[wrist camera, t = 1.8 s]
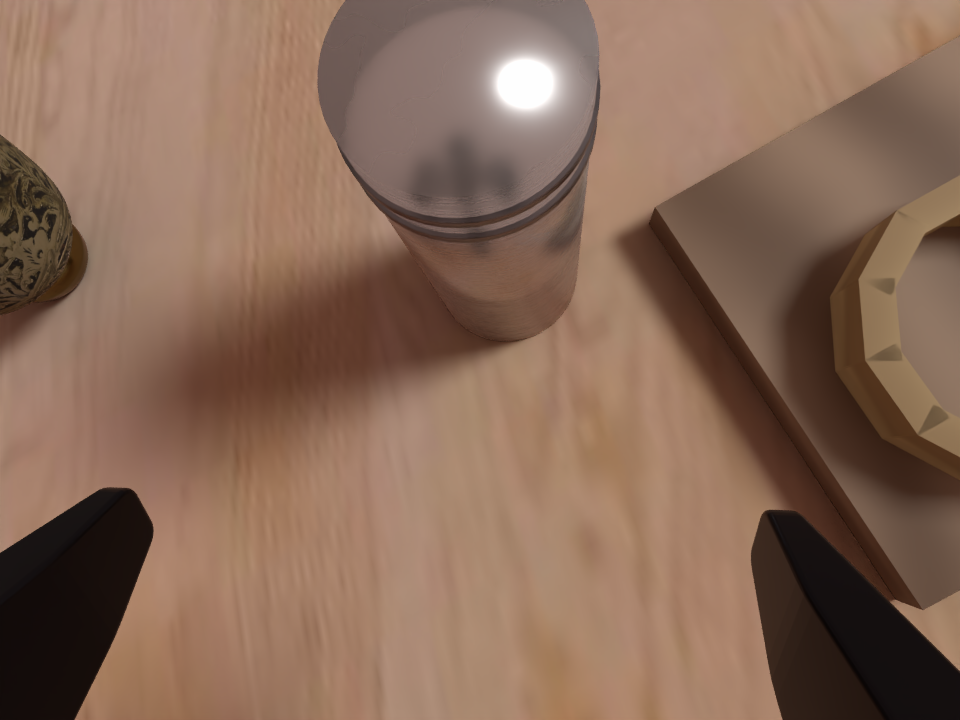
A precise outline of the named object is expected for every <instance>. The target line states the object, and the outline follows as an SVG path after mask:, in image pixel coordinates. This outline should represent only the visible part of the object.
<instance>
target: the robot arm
mask: <svg viewBox="0 0 960 720" xmlns="http://www.w3.org/2000/svg"><path fill="white" fill-rule="evenodd" d="M152 539H153V524H152V521H151V520H150V518H149V516H148V514H147V512H146V510H145V509H144V507H143V505H142V503H141V501H140V499H139V498H138V496H137V494H136V493H135V492H134V491H133V490H131V489H129V488H112V487H109V488H103V489H100V490H98V491H97V492H95V493H93V494H92V495H90V496H89V497H87V498H86V499H84V500H82V501H81V502H79V503H78V504H76V505H75V506H73V507H71V508H70V509H68V510H67V511H65V512H64V513H62V514H60V515H59V516H57V517H56V518H54V519H53V520H51V521H50V522H48V523H46V524H45V525H43V526H42V527H40V528H39V529H37V530H35V531H34V532H32V533H31V534H29V535H28V536H26V537H24V538H23V539H21V540H20V541H18V542H17V543H15V544H14V545H12V546H10V547H9V548H7V549H6V550H4V551H3V552H1V553H0V720H75V718H76V716H77V714H78V712H79V710H80V708H81V706H82V704H83V702H84V700H85V698H86V696H87V694H88V691H89V689H90V687H91V685H92V683H93V681H94V679H95V677H96V675H97V673H98V671H99V669H100V667H101V665H102V663H103V661H104V659H105V657H106V655H107V653H108V651H109V649H110V647H111V644H112V642H113V640H114V638H115V636H116V633H117V631H118V628H119V626H120V623H121V621H122V619H123V616H124V613H125V611H126V608H127V605H128V603H129V600H130V597H131V595H132V592H133V590H134V587H135V584H136V582H137V579H138V576H139V574H140V571H141V568H142V566H143V563H144V561H145V558H146V555H147V553H148V550H149V547H150V545H151V542H152ZM751 565H752V572H753V578H754V583H755V589H756V595H757V601H758V607H759V612H760V618H761V624H762V630H763V636H764V641H765V647H766V653H767V659H768V664H769V669H770V675H771V680H772V683H773V687H774V691H775V695H776V699H777V702H778V706H779V709H780V713H781V716H782V719H783V720H960V671H959V670H958V669H957V668H956V667H955V666H954V665H953V664H952V663H951V662H950V661H949V660H948V659H947V658H946V657H945V656H944V655H943V654H942V653H941V652H940V651H939V650H938V649H937V648H936V647H935V646H934V645H933V644H932V643H931V642H930V641H929V640H928V639H927V638H926V637H925V636H924V635H923V634H922V633H921V632H920V631H919V630H918V629H917V628H916V627H915V626H914V625H913V624H912V623H911V622H910V621H909V620H908V619H907V618H906V617H904V616H903V615H902V614H901V613H900V612H899V611H898V610H897V609H896V608H895V607H894V606H893V605H892V604H891V603H890V602H889V601H888V600H887V599H886V598H885V597H884V596H883V595H882V594H881V593H880V592H879V591H878V590H877V589H876V588H875V587H874V586H873V585H872V584H871V583H870V582H869V581H868V580H867V579H866V578H865V577H864V576H863V575H862V574H861V573H860V572H859V571H858V570H857V569H856V568H855V567H854V566H853V565H852V564H851V563H850V562H849V561H848V560H847V559H846V558H845V557H844V556H843V555H842V554H841V553H840V552H839V551H838V550H837V549H836V548H835V547H834V546H833V545H832V544H831V543H830V542H829V541H828V540H827V539H826V538H825V537H824V536H823V535H822V534H821V533H820V532H819V531H818V530H816V529H815V528H814V527H813V526H812V525H811V524H810V523H809V522H808V521H807V520H806V519H805V518H804V517H803V516H802V515H801V514H799V513H798V512H796V511H789V510H766V511H765V512H764V513H763V514H762V516H761V518H760V522H759V525H758V529H757V532H756V536H755V539H754V543H753V546H752V550H751Z"/></svg>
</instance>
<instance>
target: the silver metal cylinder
mask: <svg viewBox="0 0 960 720" xmlns="http://www.w3.org/2000/svg"><path fill="white" fill-rule="evenodd" d="M598 68H599V44H598V36H597V32H596V28H595V23H594V20H593V18H592V15H591V13H590V10H589V8H588V5H587V4H586V2H585V0H346V1H345V2H344V3H343V5H342V6H341V7H340V9H339V11H338V12H337V14H336V16H335V17H334V19H333V21H332V22H331V25H330V27H329V29H328V32H327V34H326V36H325V39H324V42H323V46H322V49H321V53H320V59H319V66H318V93H319V101H320V105H321V109H322V112H323V116H324V119H325V121H326V124H327V126H328V128H329V130H330V132H331V134H332V136H333V137H334V139H335V140H336V142H337V145H338V148H339V150H340V152H341V154H342V157H343V159H344V161H345V163H346V164H347V166H348V167H349V169H350V170H351V172H352V173H353V175H354V176H355V178H356V179H357V181H358V182H359V183H360V185H361V186H362V188H363V189H364V191H365V192H366V194H367V195H368V197H369V198H370V199H371V201H372V202H373V203H374V204H375V205H376V206H377V207H378V209H379V210H380V211H382V212H383V213H384V214H385V215H386V217H387V218H388V220H389V221H390V223H391V224H392V226H393V227H394V229H395V230H396V232H397V233H398V235H399V236H400V238H401V239H402V241H403V242H404V244H405V245H406V247H407V248H408V250H409V251H410V253H411V254H412V256H413V257H414V259H415V260H416V262H417V263H418V265H419V266H420V268H421V269H422V271H423V272H424V274H425V275H426V277H427V278H428V280H429V281H430V283H431V284H432V286H433V287H434V289H435V290H436V292H437V293H438V295H439V296H440V298H441V299H442V301H443V302H444V304H445V305H446V307H447V308H448V310H449V311H450V313H451V314H452V315H453V317H454V318H455V319H456V320H457V321H458V322H459V323H460V324H461V325H462V326H463V327H464V328H466V329H467V330H469V331H470V332H472V333H474V334H476V335H478V336H480V337H483V338H486V339H490V340H495V341H517V340H522V339H526V338H529V337H532V336H535V335H537V334H539V333H541V332H543V331H544V330H546V329H547V328H549V327H550V326H551V325H552V324H554V323H555V322H556V321H557V320H558V319H559V318H560V316H561V315H562V314H563V313H564V311H565V310H566V308H567V307H568V305H569V303H570V301H571V299H572V296H573V293H574V291H575V286H576V280H577V270H578V261H579V251H580V242H581V232H582V223H583V213H584V203H585V194H586V184H587V175H588V165H589V158H590V155H591V152H592V149H593V144H594V140H595V135H596V127H597V116H598V110H599V99H600V78H599V69H598Z"/></svg>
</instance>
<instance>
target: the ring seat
mask: <svg viewBox="0 0 960 720" xmlns="http://www.w3.org/2000/svg"><path fill="white" fill-rule="evenodd" d="M649 224H650V226H651V227H652V229H653V230H654V232H655V234H656V235H657V237H658V238H659V240H660V241H661V243H662V244H663V246H664V247H665V249H666V250H667V252H668V253H669V255H670V256H671V258H672V259H673V261H674V262H675V264H676V265H677V267H678V269H679V270H680V272H681V273H682V275H683V276H684V278H685V279H686V281H687V282H688V284H689V285H690V287H691V288H692V290H693V291H694V293H695V294H696V296H697V297H698V299H699V300H700V302H701V304H702V305H703V307H704V308H705V310H706V311H707V313H708V314H709V316H710V317H711V319H712V320H713V322H714V323H715V325H716V326H717V328H718V329H719V331H720V332H721V334H722V335H723V337H724V339H725V340H726V342H727V343H728V345H729V346H730V348H731V349H732V351H733V352H734V354H735V355H736V357H737V358H738V360H739V361H740V363H741V364H742V366H743V367H744V369H745V370H746V372H747V374H748V375H749V377H750V378H751V380H752V381H753V383H754V384H755V386H756V387H757V389H758V390H759V392H760V393H761V395H762V396H763V398H764V399H765V401H766V402H767V404H768V405H769V407H770V409H771V410H772V412H773V413H774V415H775V416H776V418H777V419H778V421H779V422H780V424H781V425H782V427H783V428H784V430H785V431H786V433H787V434H788V436H789V437H790V439H791V441H792V442H793V444H794V445H795V447H796V448H797V450H798V451H799V453H800V454H801V456H802V457H803V459H804V460H805V462H806V463H807V465H808V466H809V468H810V469H811V471H812V472H813V474H814V476H815V477H816V479H817V480H818V482H819V483H820V485H821V486H822V488H823V489H824V491H825V492H826V494H827V495H828V497H829V498H830V500H831V501H832V503H833V504H834V506H835V507H836V509H837V511H838V512H839V514H840V515H841V517H842V518H843V520H844V521H845V523H846V524H847V526H848V527H849V529H850V530H851V532H852V533H853V535H854V536H855V538H856V539H857V541H858V542H859V544H860V546H861V547H862V549H863V550H864V552H865V553H866V555H867V556H868V558H869V559H870V561H871V562H872V564H873V565H874V567H875V568H876V570H877V571H878V573H879V574H880V576H881V577H882V579H883V581H884V582H885V584H886V585H887V587H888V588H889V590H890V591H891V593H892V594H893V596H894V597H895V599H896V600H898V601H900V602H903V603H906V604H908V605H911V606H914V607H916V608H919V609H922V610H924V609H926V608H928V607H930V606H931V605H933V604H935V603H937V602H939V601H941V600H942V599H944V598H946V597H948V596H950V595H952V594H954V593H955V592H957V591H959V590H960V36H958V37H957V38H955V39H953V40H951V41H949V42H948V43H946V44H944V45H942V46H941V47H939V48H937V49H935V50H933V51H932V52H930V53H928V54H926V55H925V56H923V57H921V58H919V59H917V60H916V61H914V62H912V63H910V64H909V65H907V66H905V67H903V68H901V69H900V70H898V71H896V72H894V73H893V74H891V75H889V76H887V77H885V78H884V79H882V80H880V81H878V82H877V83H875V84H873V85H871V86H869V87H868V88H866V89H864V90H862V91H861V92H859V93H857V94H855V95H853V96H852V97H850V98H848V99H846V100H845V101H843V102H841V103H839V104H837V105H836V106H834V107H832V108H830V109H829V110H827V111H825V112H823V113H821V114H820V115H818V116H816V117H814V118H813V119H811V120H809V121H807V122H805V123H804V124H802V125H800V126H798V127H797V128H795V129H793V130H791V131H789V132H788V133H786V134H784V135H782V136H781V137H779V138H777V139H775V140H773V141H772V142H770V143H768V144H766V145H765V146H763V147H761V148H759V149H757V150H756V151H754V152H752V153H750V154H749V155H747V156H745V157H743V158H741V159H740V160H738V161H736V162H734V163H733V164H731V165H729V166H727V167H725V168H724V169H722V170H720V171H718V172H717V173H715V174H713V175H711V176H709V177H708V178H706V179H704V180H702V181H701V182H699V183H697V184H695V185H693V186H692V187H690V188H688V189H686V190H685V191H683V192H681V193H679V194H677V195H676V196H674V197H672V198H670V199H669V200H667V201H665V202H663V203H661V204H660V205H658V206H656V207H655V209H654V212H653V214H652V217H651V220H650V222H649Z"/></svg>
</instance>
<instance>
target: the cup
mask: <svg viewBox="0 0 960 720" xmlns="http://www.w3.org/2000/svg"><path fill="white" fill-rule="evenodd" d="M87 263H88V250H87V246H86V243H85V241H84V239H83V237H82V236H81V234H80V233H79V231H78V230H77V229H76V227H75V226H74V225H73V224H72V221H71V216H70V213H69V210H68V207H67V204H66V202H65V200H64V198H63V196H62V194H61V193H60V191H59V190H58V188H57V187H56V185H55V184H54V182H53V181H52V180H51V179H50V178H49V177H48V176H47V175H46V174H45V173H44V171H43V170H42V169H41V168H40V167H39V166H38V165H37V164H35V163H34V162H33V161H32V160H31V159H30V158H29V157H28V156H26V155H25V154H24V153H23V152H21V151H20V150H19V149H18V148H17V147H15V146H14V145H13V144H12V143H10V142H9V141H8V140H7V139H5V138H4V137H3V136H1V135H0V315H3V314H6V313H10V312H12V311H15V310H17V309H20V308H22V307H25V306H26V305H28V304H30V303H32V302H33V303H36V302H46V301H51V300H55V299H58V298H61V297H63V296H64V295H66V294H68V293H69V292H70V291H72V290H73V289H74V288H75V287H76V286H77V285H78V283H79V282H80V280H81V279H82V277H83V275H84V273H85V271H86V267H87Z"/></svg>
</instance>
